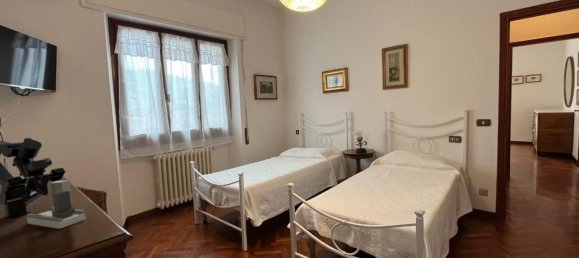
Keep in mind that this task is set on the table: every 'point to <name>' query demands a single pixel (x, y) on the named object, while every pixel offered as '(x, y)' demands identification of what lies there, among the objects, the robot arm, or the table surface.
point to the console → (55, 219)
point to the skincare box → (60, 188)
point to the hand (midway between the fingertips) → (46, 194)
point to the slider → (62, 204)
